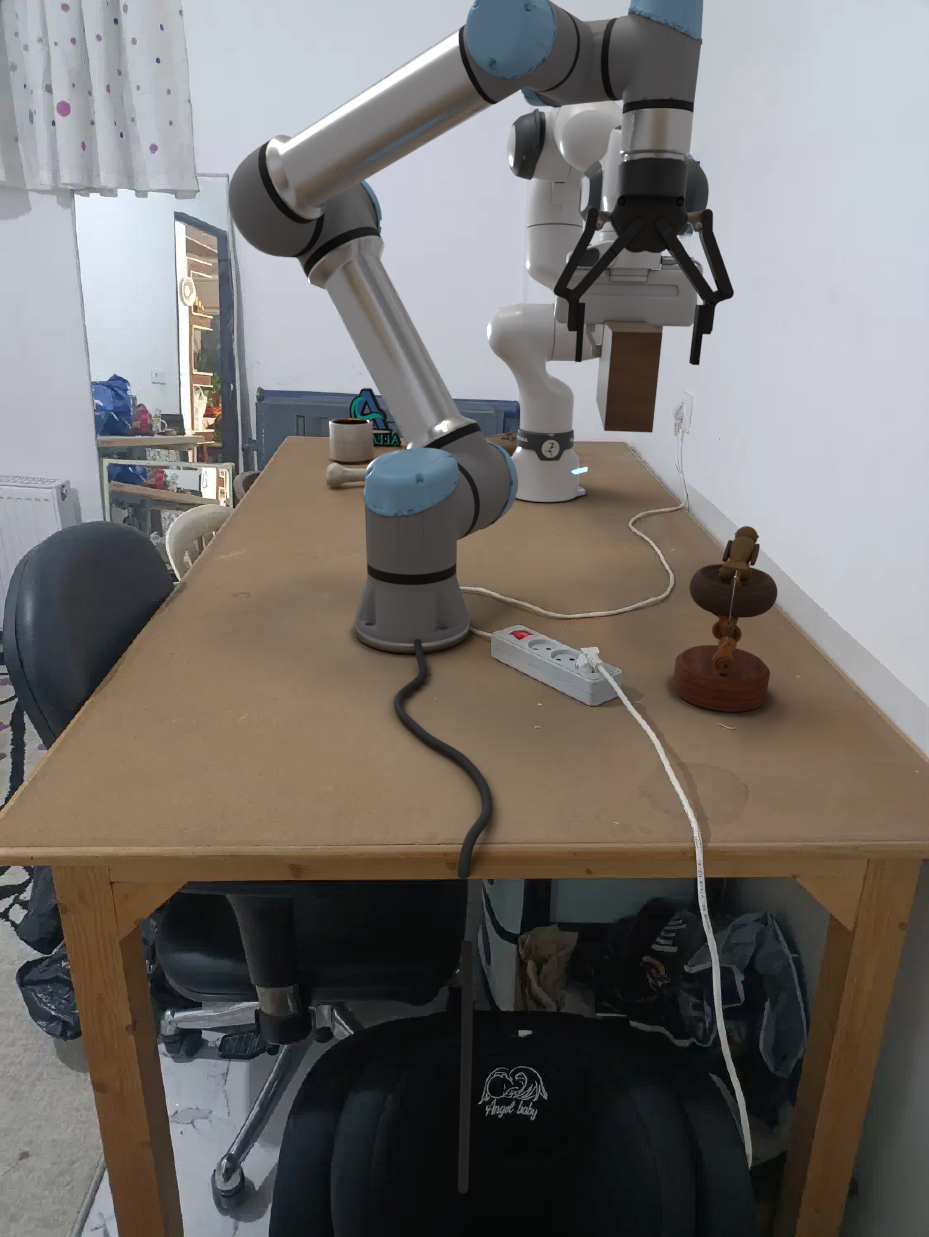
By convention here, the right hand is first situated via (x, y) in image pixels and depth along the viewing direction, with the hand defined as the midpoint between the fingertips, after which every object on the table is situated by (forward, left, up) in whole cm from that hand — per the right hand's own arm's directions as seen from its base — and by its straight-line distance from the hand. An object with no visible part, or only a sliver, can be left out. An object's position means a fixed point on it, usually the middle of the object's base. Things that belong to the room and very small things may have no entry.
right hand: (620, 357), depth 124 cm
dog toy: (-61, -37, -33) cm, 79 cm away
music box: (+42, +3, -33) cm, 53 cm away
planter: (-89, -42, -33) cm, 104 cm away
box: (+10, -2, -7) cm, 12 cm away
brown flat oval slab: (-92, +3, -33) cm, 98 cm away
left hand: (+25, -5, +2) cm, 25 cm away
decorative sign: (-109, -38, -33) cm, 120 cm away
